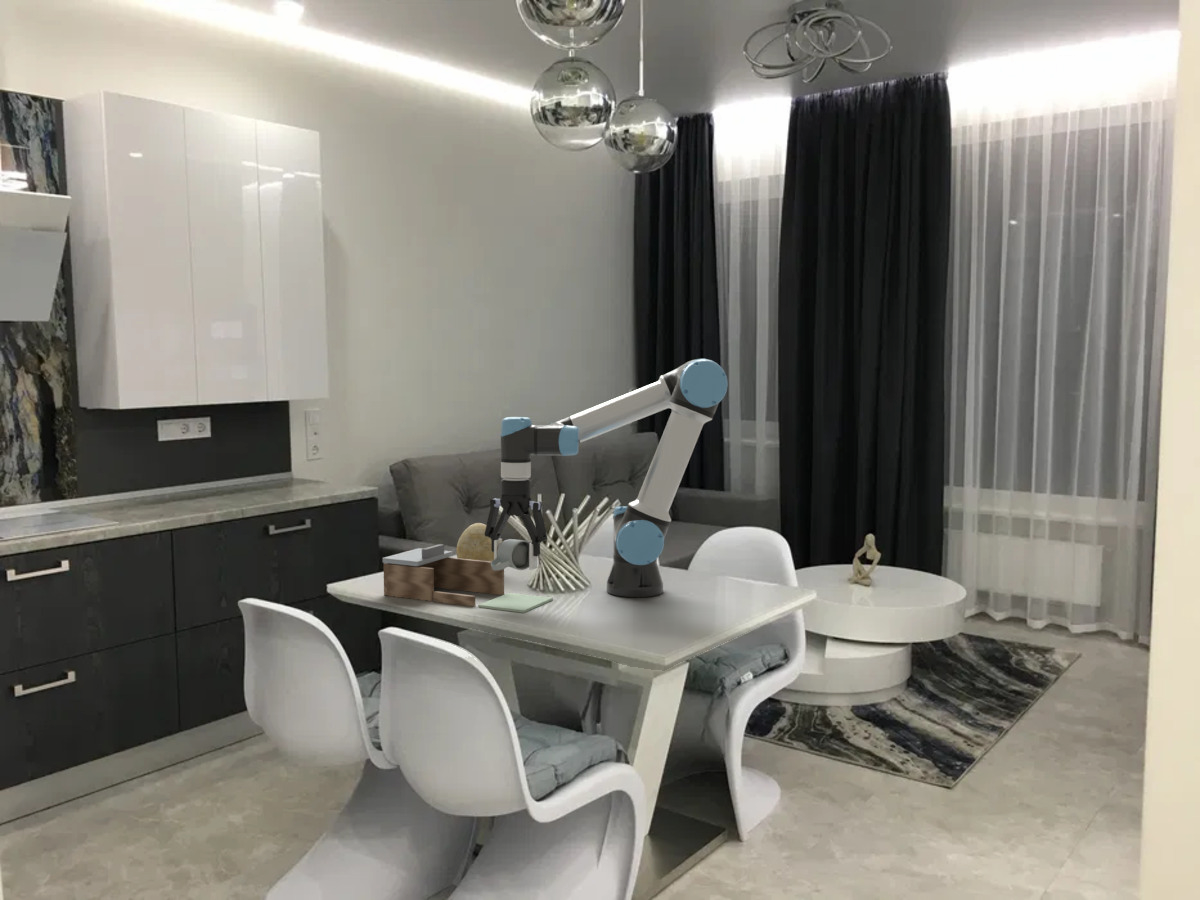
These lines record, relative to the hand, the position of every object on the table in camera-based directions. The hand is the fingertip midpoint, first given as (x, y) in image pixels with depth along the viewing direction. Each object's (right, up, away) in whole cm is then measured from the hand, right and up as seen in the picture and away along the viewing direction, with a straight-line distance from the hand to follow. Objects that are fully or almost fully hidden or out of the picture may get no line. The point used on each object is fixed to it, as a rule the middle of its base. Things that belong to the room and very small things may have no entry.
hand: (515, 566), depth 252 cm
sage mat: (0, -9, +1) cm, 9 cm away
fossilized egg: (-14, -7, +36) cm, 39 cm away
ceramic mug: (-1, -1, -1) cm, 2 cm away
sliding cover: (-27, +1, +13) cm, 30 cm away
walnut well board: (-20, -9, +10) cm, 24 cm away
